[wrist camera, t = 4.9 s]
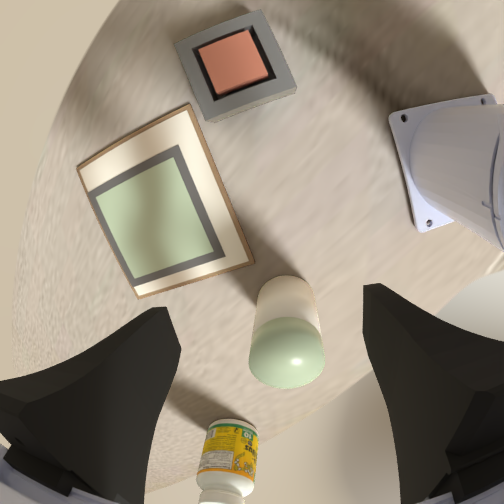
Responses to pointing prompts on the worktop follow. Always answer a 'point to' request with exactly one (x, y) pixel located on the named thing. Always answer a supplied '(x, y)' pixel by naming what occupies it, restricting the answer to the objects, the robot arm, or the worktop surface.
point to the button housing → (246, 96)
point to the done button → (233, 63)
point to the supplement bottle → (228, 462)
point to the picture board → (165, 206)
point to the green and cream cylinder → (286, 334)
